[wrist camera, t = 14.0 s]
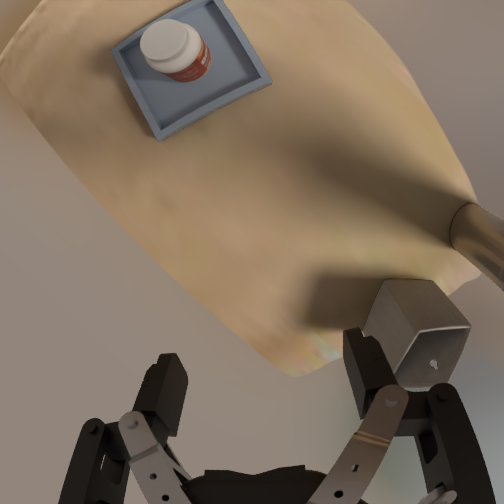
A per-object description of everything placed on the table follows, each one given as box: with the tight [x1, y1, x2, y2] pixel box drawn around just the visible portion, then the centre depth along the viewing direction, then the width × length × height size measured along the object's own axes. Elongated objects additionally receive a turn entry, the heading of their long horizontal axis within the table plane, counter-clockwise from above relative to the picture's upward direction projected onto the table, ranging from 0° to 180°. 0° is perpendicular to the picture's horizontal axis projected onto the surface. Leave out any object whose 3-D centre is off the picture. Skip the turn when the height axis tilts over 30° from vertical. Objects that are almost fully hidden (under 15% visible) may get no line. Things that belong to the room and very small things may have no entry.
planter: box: [363, 279, 472, 388], centre depth 35 cm, size 16×8×19 cm, turn 129°
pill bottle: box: [140, 19, 212, 83], centre depth 24 cm, size 6×6×11 cm
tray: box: [110, 0, 272, 141], centre depth 29 cm, size 16×16×2 cm
